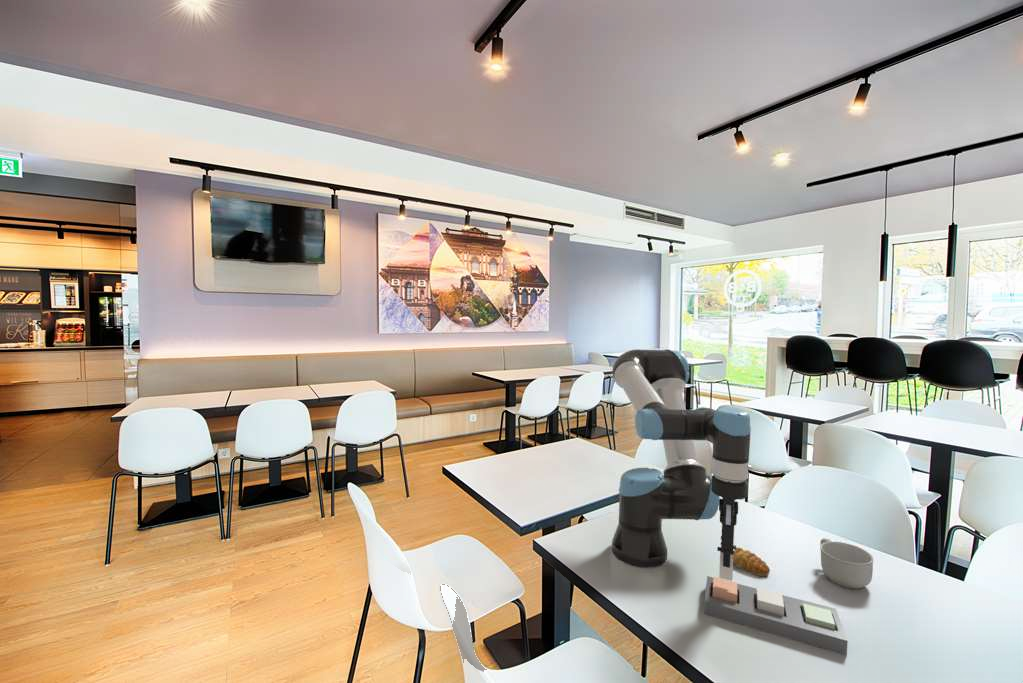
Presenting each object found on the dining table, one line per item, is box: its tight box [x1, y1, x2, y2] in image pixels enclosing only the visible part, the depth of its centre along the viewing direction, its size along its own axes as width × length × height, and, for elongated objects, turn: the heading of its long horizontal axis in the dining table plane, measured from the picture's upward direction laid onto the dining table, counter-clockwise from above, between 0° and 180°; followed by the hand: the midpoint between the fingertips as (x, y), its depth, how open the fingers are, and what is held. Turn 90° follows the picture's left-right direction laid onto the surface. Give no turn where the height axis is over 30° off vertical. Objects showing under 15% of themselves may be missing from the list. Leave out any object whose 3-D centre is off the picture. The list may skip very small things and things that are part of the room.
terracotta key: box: [713, 576, 738, 603], centre depth 102 cm, size 5×5×2 cm
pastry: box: [733, 546, 771, 577], centre depth 118 cm, size 9×7×4 cm
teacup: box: [819, 537, 875, 590], centre depth 114 cm, size 14×11×8 cm
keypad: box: [703, 575, 848, 656], centre depth 98 cm, size 26×11×3 cm, turn 63°
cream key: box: [756, 587, 784, 616], centre depth 98 cm, size 5×5×2 cm
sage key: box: [802, 603, 835, 630], centre depth 94 cm, size 5×5×2 cm
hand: (725, 577), depth 101 cm, fingers closed
